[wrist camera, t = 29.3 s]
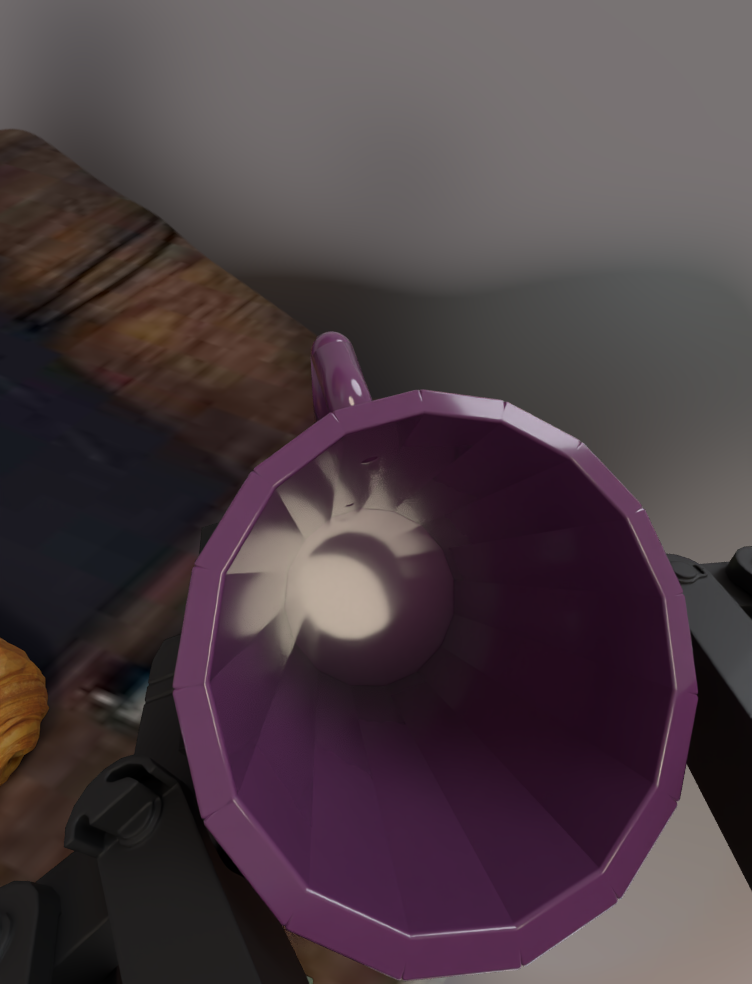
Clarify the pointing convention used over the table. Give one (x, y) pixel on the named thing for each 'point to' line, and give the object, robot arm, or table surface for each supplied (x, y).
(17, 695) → the croissant
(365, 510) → the plum mug
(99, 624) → the table surface
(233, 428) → the table surface
